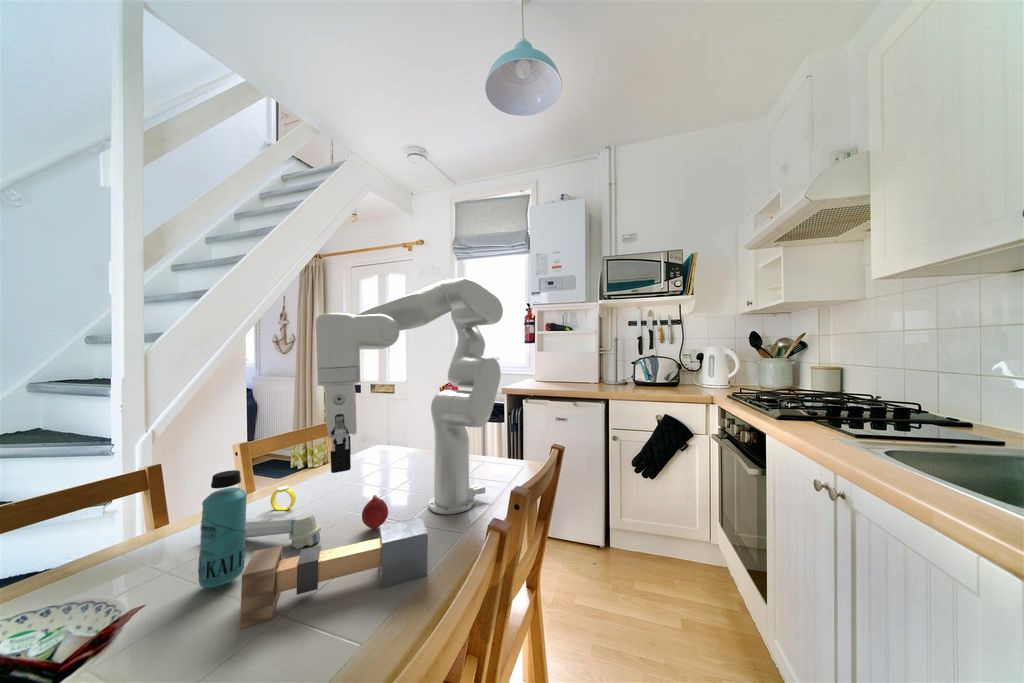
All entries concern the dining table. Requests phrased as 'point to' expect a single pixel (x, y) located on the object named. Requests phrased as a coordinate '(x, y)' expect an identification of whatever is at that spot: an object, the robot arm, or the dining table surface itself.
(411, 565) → the sleeve
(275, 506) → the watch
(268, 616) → the socket
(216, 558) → the beverage bottle
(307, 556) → the banded wooden beam
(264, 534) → the white long handled piece
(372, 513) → the onion
